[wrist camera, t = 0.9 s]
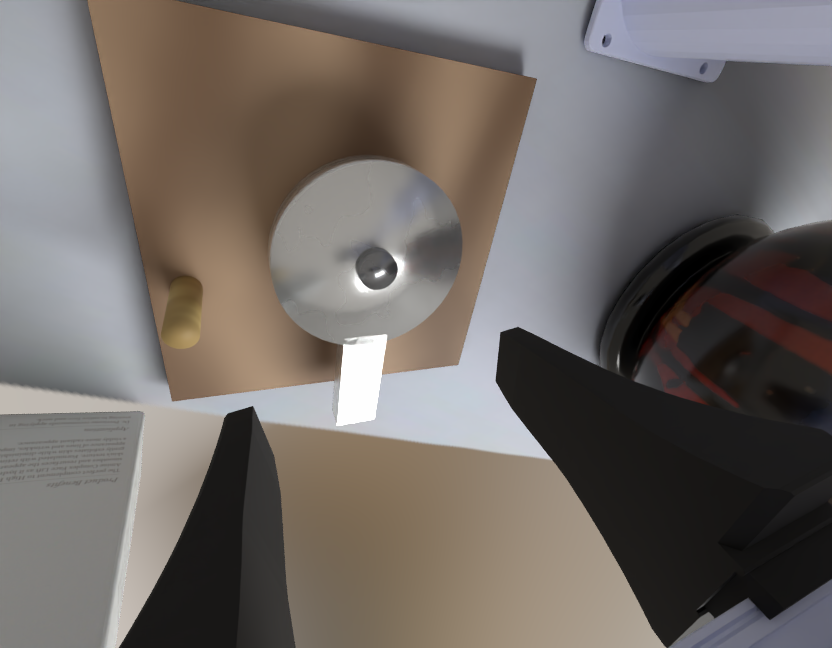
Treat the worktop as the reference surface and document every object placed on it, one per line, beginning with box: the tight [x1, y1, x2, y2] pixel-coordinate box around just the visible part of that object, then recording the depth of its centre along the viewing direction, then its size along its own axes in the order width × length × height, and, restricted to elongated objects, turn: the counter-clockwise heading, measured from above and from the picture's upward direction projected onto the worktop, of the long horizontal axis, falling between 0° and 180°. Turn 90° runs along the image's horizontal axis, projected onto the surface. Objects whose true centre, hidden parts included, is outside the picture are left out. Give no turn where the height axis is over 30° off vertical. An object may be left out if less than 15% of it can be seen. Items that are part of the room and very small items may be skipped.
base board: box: [87, 0, 537, 401], centre depth 18 cm, size 16×16×4 cm
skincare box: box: [0, 411, 145, 648], centre depth 15 cm, size 6×4×12 cm
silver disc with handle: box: [268, 155, 463, 426], centre depth 18 cm, size 13×8×2 cm, turn 169°
